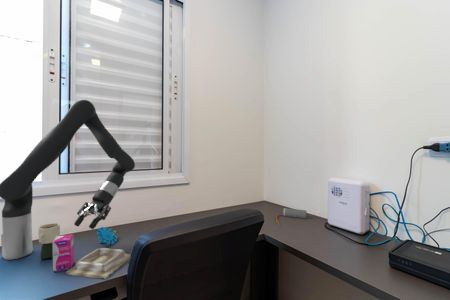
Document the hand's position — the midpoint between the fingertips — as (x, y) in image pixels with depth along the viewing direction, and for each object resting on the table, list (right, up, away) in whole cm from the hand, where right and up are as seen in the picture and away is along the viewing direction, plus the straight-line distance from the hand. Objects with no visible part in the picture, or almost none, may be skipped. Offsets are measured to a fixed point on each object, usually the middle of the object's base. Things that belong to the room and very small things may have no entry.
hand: (83, 226), depth 95 cm
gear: (+3, -13, +14) cm, 19 cm away
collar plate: (+11, -13, -6) cm, 18 cm away
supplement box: (-3, -13, -7) cm, 15 cm away
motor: (+99, -11, +42) cm, 108 cm away
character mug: (-14, -13, +1) cm, 19 cm away
